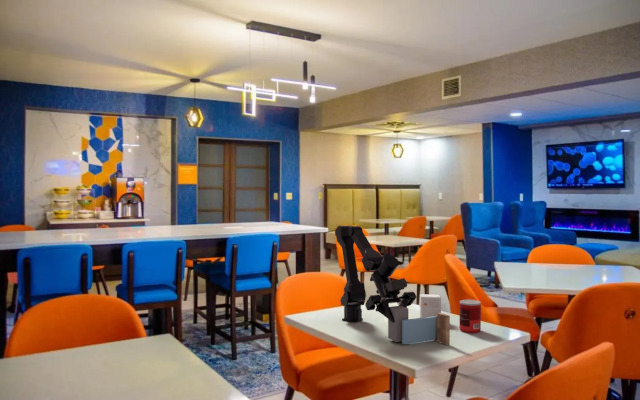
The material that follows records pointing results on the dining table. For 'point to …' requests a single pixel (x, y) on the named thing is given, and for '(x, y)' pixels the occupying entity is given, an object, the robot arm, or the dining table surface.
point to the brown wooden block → (443, 328)
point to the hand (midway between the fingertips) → (400, 321)
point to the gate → (419, 330)
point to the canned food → (470, 316)
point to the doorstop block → (397, 322)
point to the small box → (429, 305)
